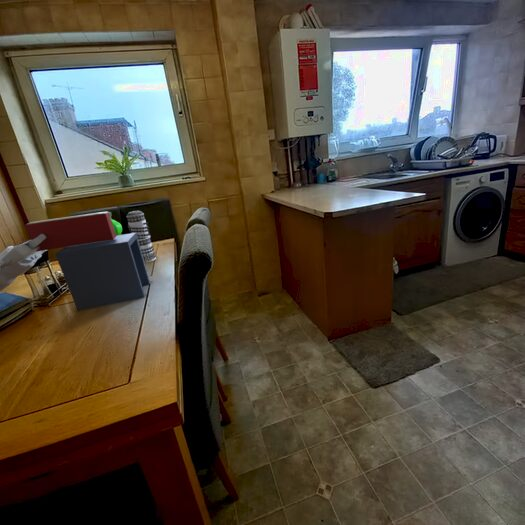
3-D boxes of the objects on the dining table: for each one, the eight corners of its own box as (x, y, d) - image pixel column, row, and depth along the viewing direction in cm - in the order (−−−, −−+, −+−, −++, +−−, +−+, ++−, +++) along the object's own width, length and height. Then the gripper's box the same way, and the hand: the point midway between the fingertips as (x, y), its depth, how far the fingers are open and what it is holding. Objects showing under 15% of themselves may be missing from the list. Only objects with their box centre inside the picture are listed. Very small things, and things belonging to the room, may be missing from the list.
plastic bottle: (114, 257, 154) (100, 212, 146) (133, 254, 155) (120, 210, 146) (106, 263, 145) (90, 216, 136) (127, 260, 145) (112, 213, 137)
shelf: (77, 311, 95) (54, 253, 88) (91, 294, 108) (72, 242, 101) (144, 297, 99) (127, 241, 92) (150, 282, 112) (135, 232, 105)
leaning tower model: (150, 256, 148) (137, 209, 139) (160, 258, 142) (148, 209, 134) (134, 262, 141) (120, 213, 132) (144, 264, 135) (130, 213, 127)
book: (36, 251, 91) (24, 224, 88) (42, 248, 95) (31, 221, 92) (113, 239, 95) (105, 212, 92) (116, 236, 99) (108, 211, 96)
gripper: (-14, 262, 82) (22, 232, 81) (26, 244, 101) (55, 220, 100) (6, 277, 84) (41, 248, 84) (41, 257, 103) (70, 233, 103)
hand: (49, 233), depth 92 cm, fingers closed on book, 4 cm apart
